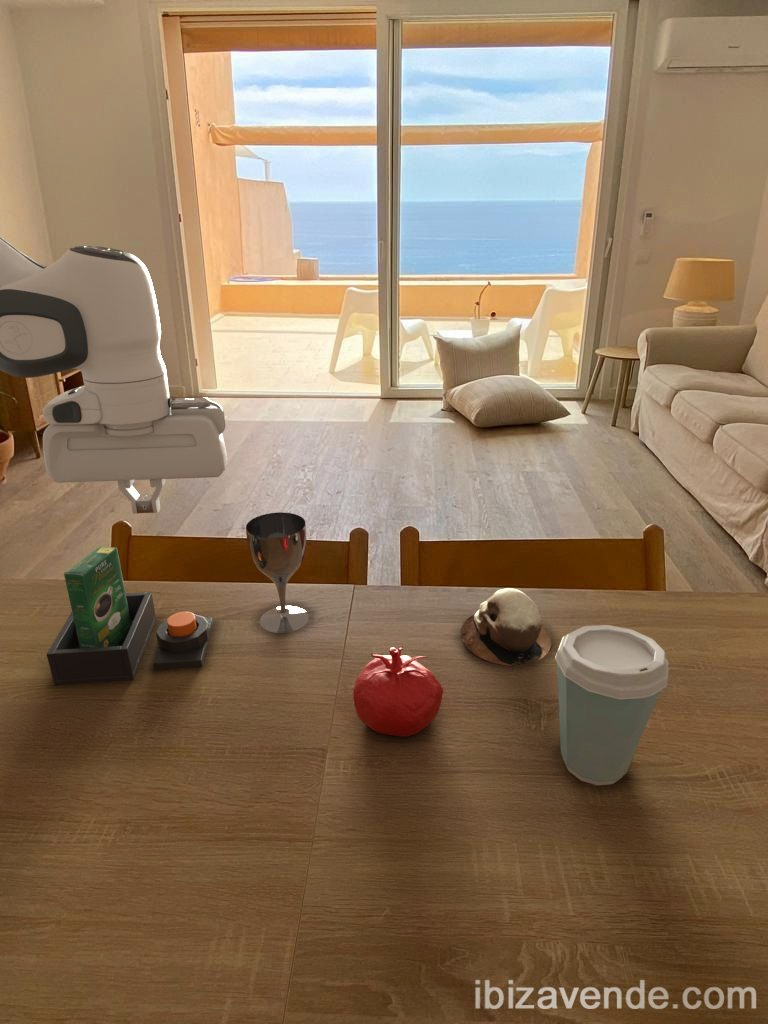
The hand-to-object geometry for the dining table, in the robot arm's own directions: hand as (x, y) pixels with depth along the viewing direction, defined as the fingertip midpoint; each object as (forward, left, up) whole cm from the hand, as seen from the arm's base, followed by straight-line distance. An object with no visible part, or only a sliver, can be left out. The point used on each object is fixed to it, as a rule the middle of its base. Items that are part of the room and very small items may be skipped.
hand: (147, 511), depth 84 cm
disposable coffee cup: (+49, -25, -21) cm, 59 cm away
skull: (+45, -2, -21) cm, 49 cm away
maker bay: (-8, +1, -20) cm, 22 cm away
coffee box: (-8, +1, -20) cm, 21 cm away
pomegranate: (+29, -16, -21) cm, 39 cm away
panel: (+2, +1, -20) cm, 20 cm away
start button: (+2, +1, -18) cm, 18 cm away
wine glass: (+15, +6, -21) cm, 26 cm away
